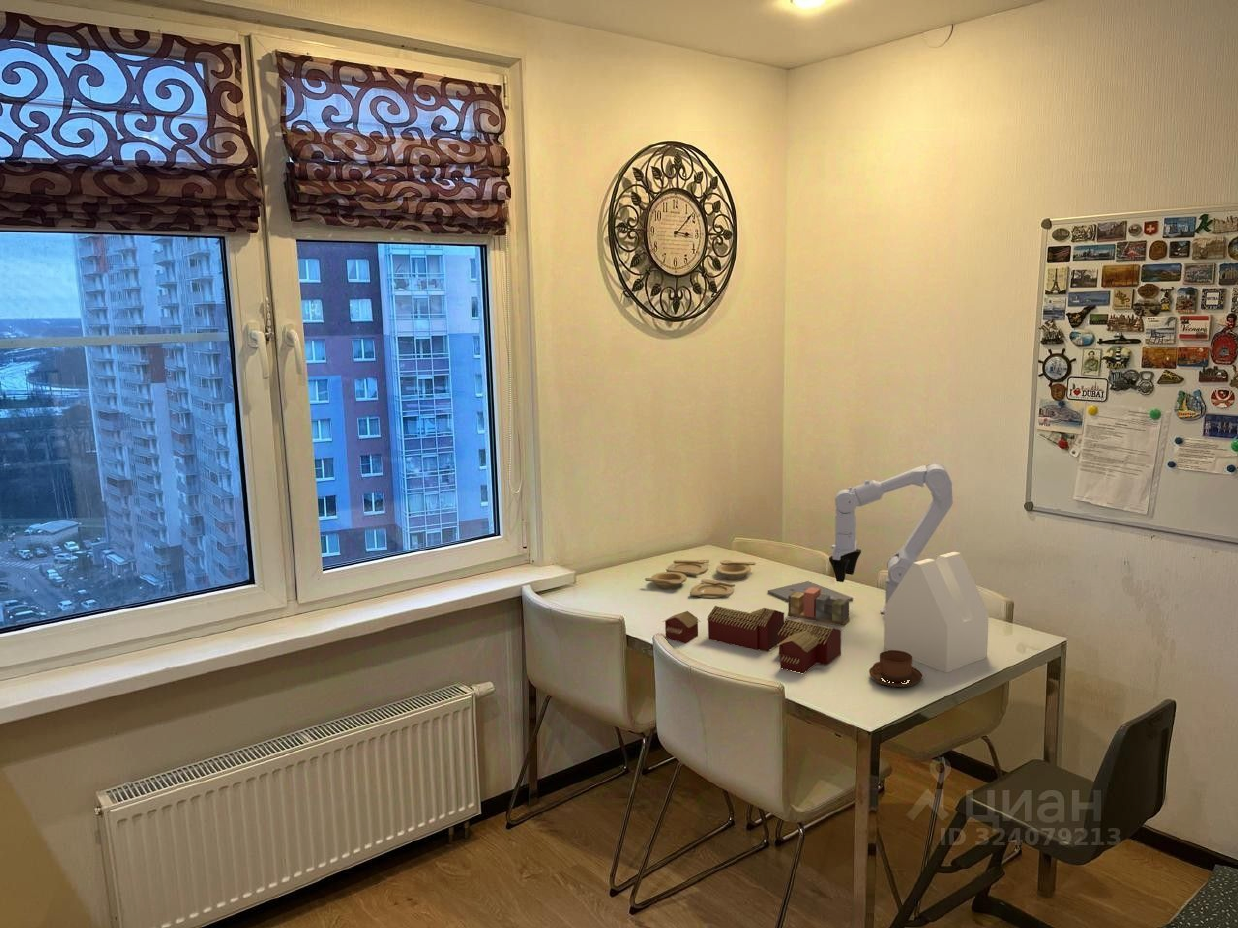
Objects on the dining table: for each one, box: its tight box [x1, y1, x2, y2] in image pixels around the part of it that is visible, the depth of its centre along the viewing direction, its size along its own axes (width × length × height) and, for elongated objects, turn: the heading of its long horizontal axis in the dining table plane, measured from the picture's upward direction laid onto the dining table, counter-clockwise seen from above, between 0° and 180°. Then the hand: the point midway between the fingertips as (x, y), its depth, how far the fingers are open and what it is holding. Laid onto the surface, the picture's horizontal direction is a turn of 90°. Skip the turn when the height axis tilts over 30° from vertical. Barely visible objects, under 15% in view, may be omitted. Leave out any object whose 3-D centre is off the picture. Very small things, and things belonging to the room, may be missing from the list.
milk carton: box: [883, 551, 990, 674], centre depth 227 cm, size 19×15×25 cm
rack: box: [787, 592, 851, 627], centre depth 255 cm, size 17×4×6 cm, turn 56°
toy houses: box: [662, 605, 842, 674], centre depth 237 cm, size 45×20×10 cm, turn 53°
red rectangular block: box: [804, 587, 821, 618], centre depth 256 cm, size 3×5×7 cm, turn 146°
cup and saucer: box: [868, 650, 923, 688], centre depth 213 cm, size 12×12×6 cm
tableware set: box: [644, 559, 756, 599], centre depth 293 cm, size 35×29×4 cm
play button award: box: [767, 580, 854, 603], centre depth 273 cm, size 16×2×20 cm
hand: (844, 577), depth 261 cm, fingers open, 7 cm apart
